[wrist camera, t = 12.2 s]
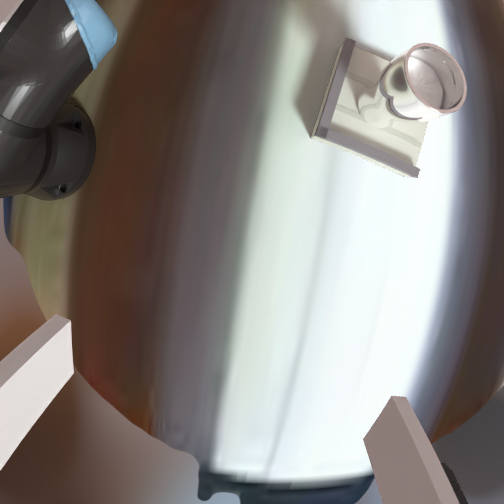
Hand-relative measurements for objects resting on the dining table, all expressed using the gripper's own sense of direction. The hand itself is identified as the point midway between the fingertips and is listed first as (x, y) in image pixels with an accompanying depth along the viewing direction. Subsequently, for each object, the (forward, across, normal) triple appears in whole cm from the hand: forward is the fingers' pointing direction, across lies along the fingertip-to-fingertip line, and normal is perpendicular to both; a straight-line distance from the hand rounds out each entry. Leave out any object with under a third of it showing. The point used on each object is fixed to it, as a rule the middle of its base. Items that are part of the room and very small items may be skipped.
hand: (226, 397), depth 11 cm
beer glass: (+29, +11, +20) cm, 37 cm away
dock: (+32, +12, +20) cm, 40 cm away
